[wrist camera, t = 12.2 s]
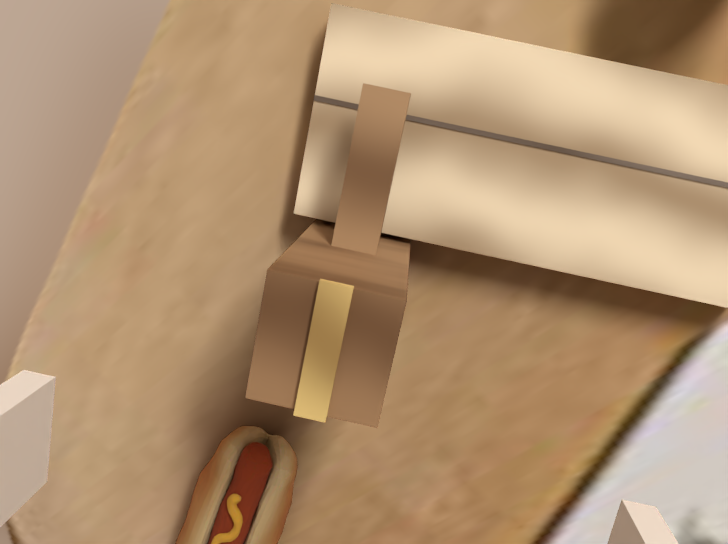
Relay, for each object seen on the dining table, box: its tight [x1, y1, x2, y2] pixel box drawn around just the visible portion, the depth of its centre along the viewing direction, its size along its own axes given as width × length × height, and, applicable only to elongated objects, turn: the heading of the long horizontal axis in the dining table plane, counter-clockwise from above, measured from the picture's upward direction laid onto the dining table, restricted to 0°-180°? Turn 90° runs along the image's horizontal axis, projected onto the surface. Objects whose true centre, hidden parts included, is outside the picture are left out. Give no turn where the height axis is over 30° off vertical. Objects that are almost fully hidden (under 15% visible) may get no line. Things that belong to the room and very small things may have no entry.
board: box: [294, 3, 728, 308], centre depth 32 cm, size 10×23×2 cm, turn 78°
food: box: [175, 426, 298, 544], centre depth 37 cm, size 14×6×5 cm, turn 159°
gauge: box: [245, 83, 411, 428], centre depth 28 cm, size 12×5×12 cm, turn 168°
